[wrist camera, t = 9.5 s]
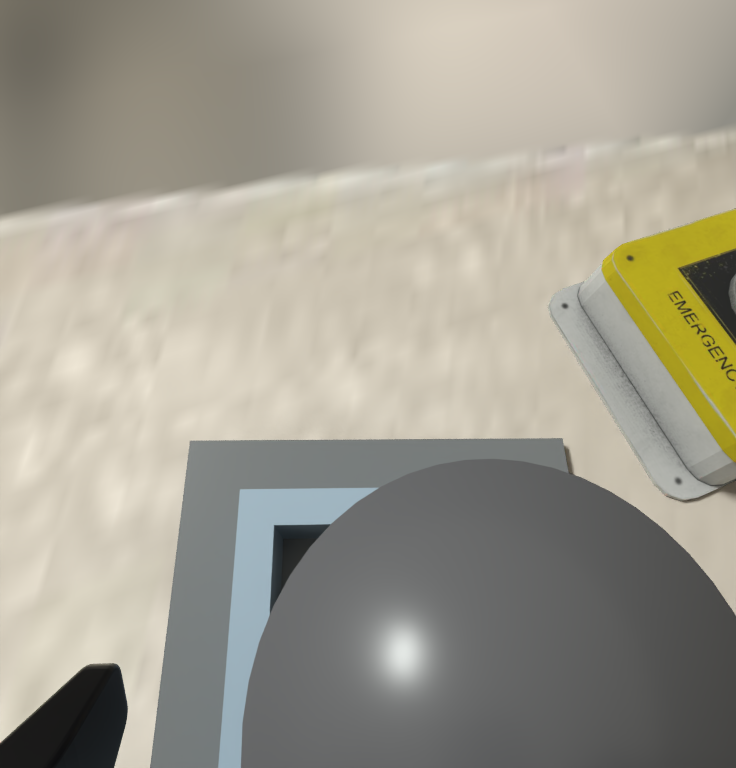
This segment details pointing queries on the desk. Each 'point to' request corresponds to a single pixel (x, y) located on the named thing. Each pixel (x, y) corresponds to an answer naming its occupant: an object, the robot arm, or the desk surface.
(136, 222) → the desk surface
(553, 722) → the plug
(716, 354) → the emergency button
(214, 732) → the dock
